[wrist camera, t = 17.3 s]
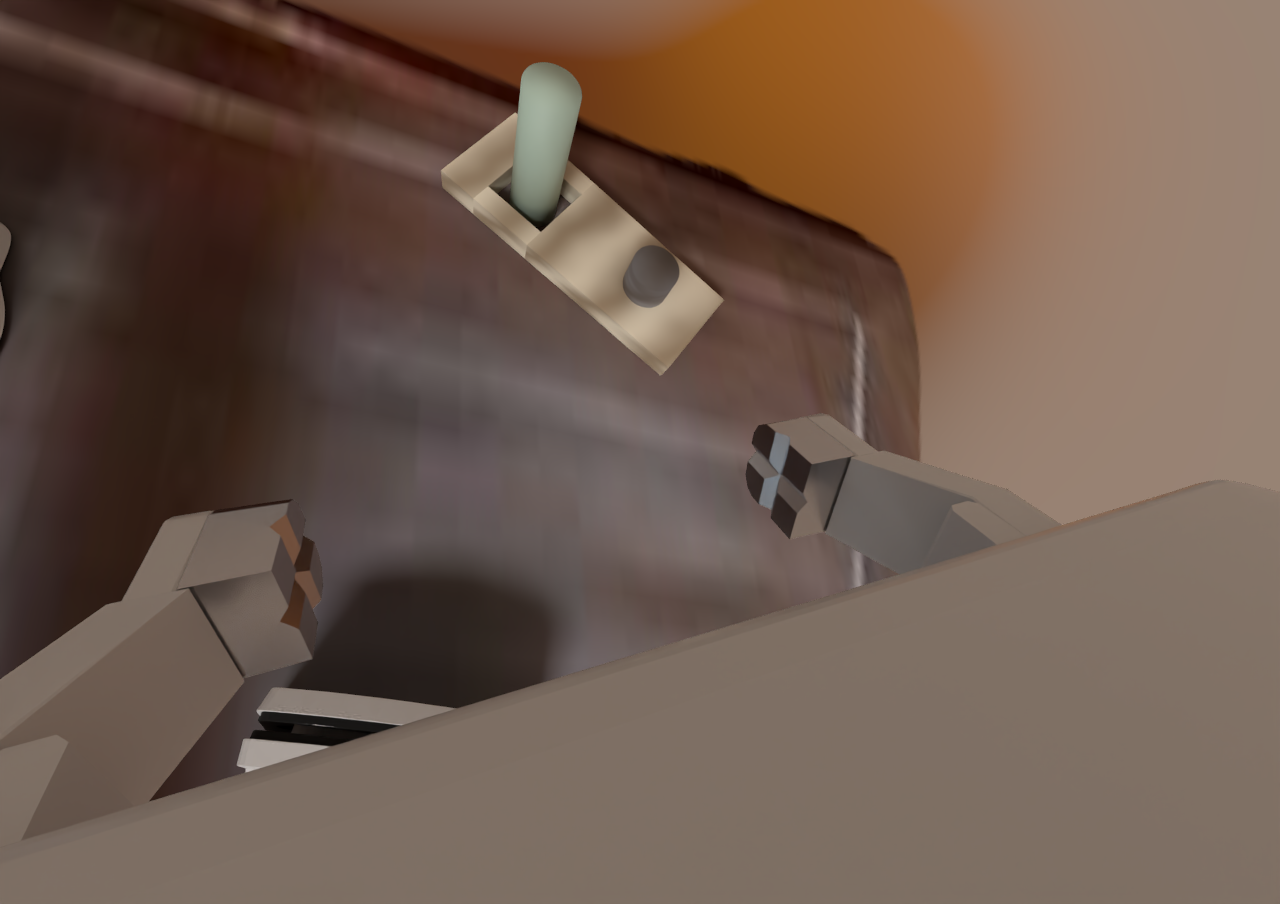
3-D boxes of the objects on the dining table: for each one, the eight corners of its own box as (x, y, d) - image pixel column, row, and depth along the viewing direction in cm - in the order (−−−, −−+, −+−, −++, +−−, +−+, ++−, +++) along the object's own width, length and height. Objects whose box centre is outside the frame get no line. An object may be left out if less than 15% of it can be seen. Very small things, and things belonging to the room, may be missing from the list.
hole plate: (442, 187, 44) (438, 141, 39) (513, 130, 47) (518, 82, 42) (660, 375, 46) (681, 353, 41) (714, 309, 49) (739, 282, 44)
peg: (499, 203, 45) (508, 81, 34) (529, 177, 46) (547, 52, 35) (535, 235, 45) (556, 125, 34) (564, 208, 47) (593, 94, 35)
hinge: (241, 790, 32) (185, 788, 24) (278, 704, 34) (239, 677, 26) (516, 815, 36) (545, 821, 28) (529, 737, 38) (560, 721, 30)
